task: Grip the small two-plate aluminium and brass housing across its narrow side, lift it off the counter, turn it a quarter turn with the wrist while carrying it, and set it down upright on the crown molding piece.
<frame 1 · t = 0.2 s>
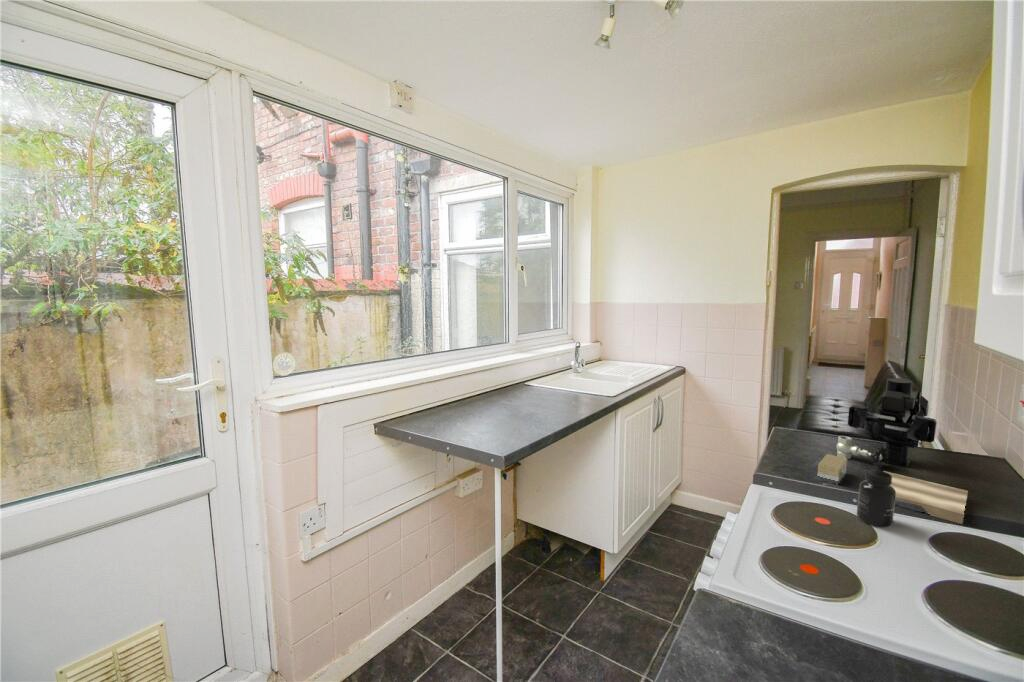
hand: (883, 431, 119), 17 cm above the counter, tool horizontal, fingers open, 9 cm apart
valve: (857, 461, 140), on the counter
supplement bottle: (874, 521, 107), on the counter
crown molding piece: (918, 499, 116), on the counter
housing: (831, 477, 130), on the counter
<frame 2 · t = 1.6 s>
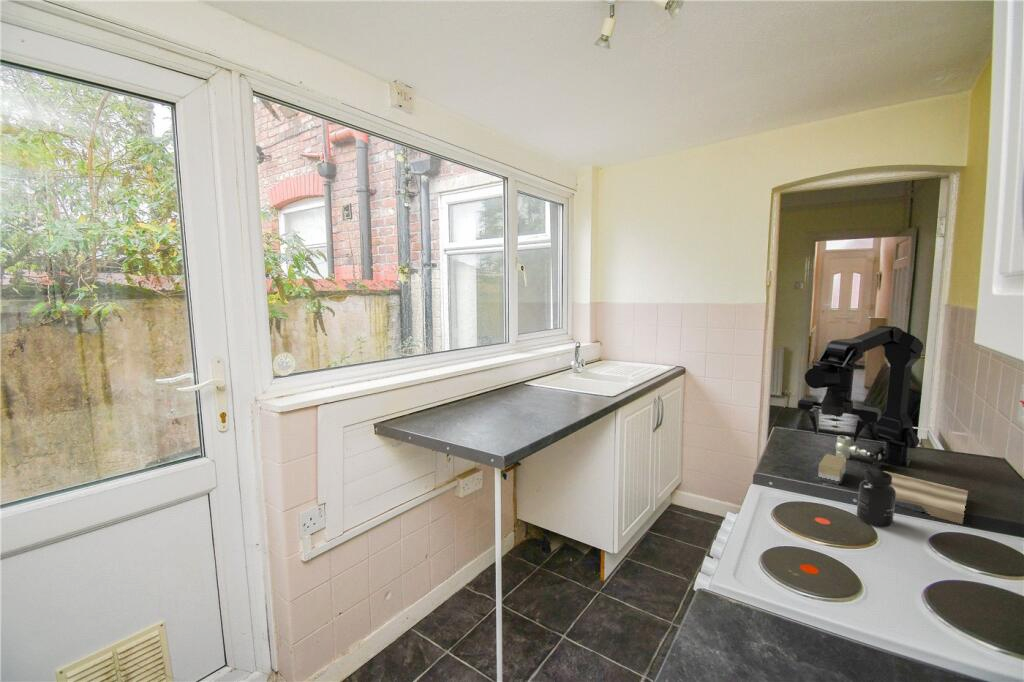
hand: (835, 437, 128), 12 cm above the counter, tool pointing down, fingers open, 9 cm apart
nothing on the counter moved.
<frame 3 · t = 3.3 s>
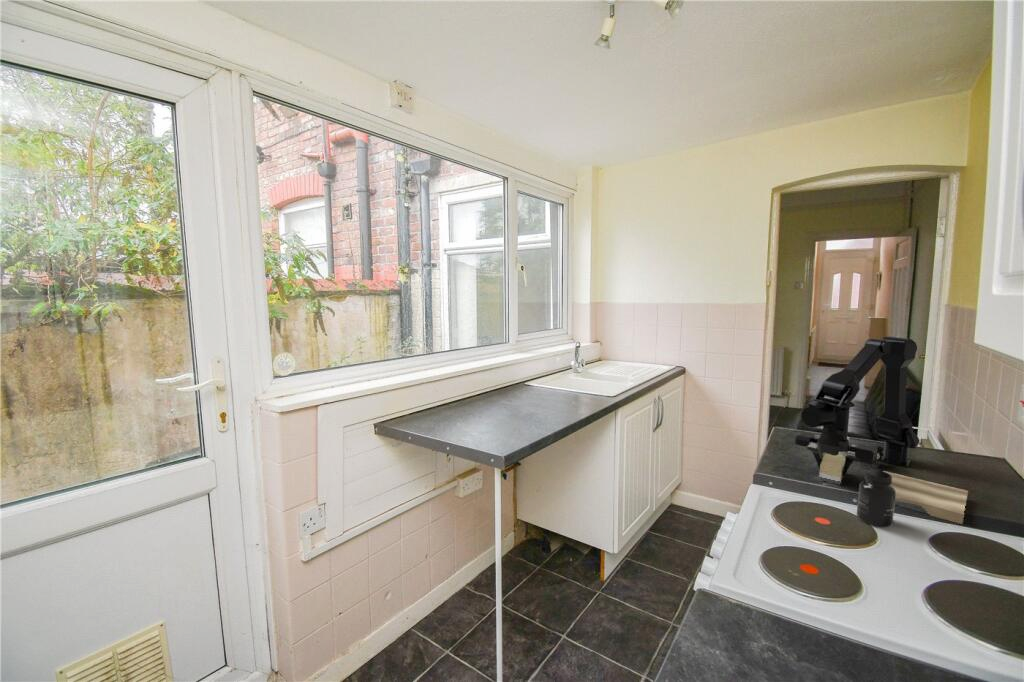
hand: (831, 473, 130), 1 cm above the counter, tool pointing down, fingers closed on housing, 5 cm apart
housing: (831, 477, 130), on the counter, touching gripper
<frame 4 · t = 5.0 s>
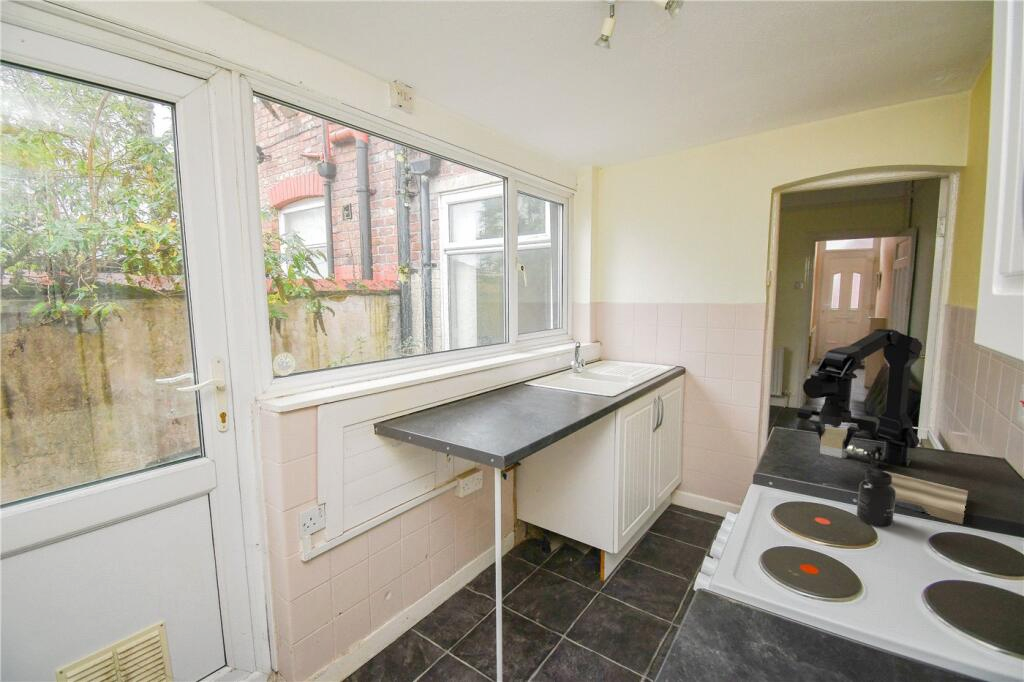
hand: (833, 446, 128), 9 cm above the counter, tool pointing down, fingers closed on housing, 5 cm apart
housing: (833, 450, 129), point 8 cm above the counter, touching gripper
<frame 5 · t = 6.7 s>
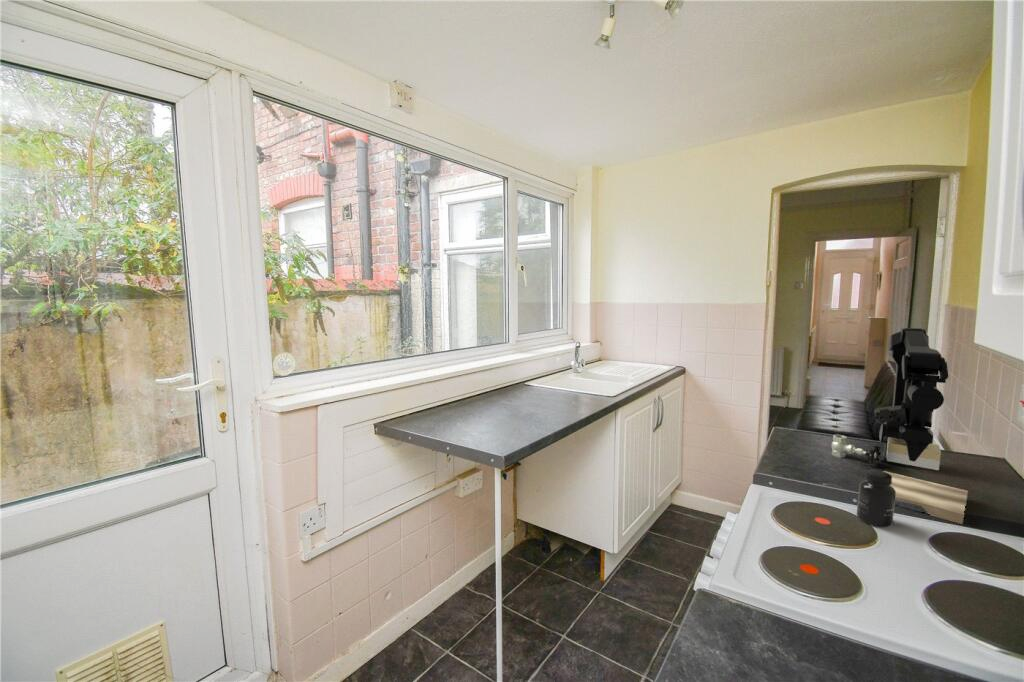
hand: (912, 457, 116), 11 cm above the counter, tool pointing down, fingers closed on housing, 5 cm apart
housing: (911, 462, 116), point 10 cm above the counter, touching gripper
when the fingers open (5 cm above the counter, at t = 9.1 s): housing drops 1 cm, resting on crown molding piece.
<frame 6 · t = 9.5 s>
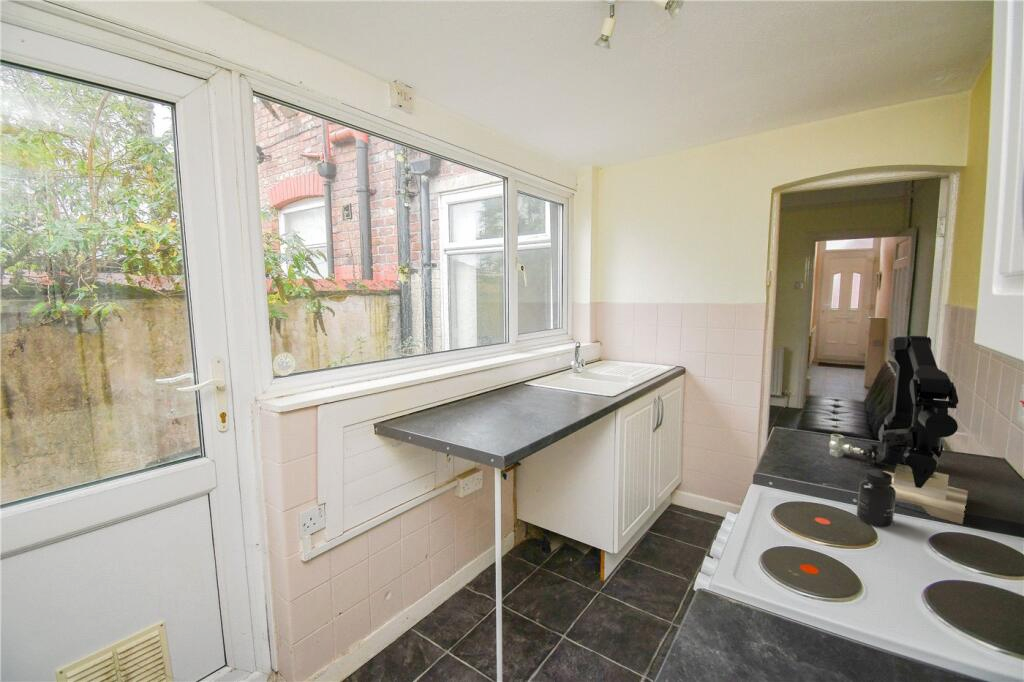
hand: (920, 481, 115), 5 cm above the counter, tool pointing down, fingers open, 9 cm apart
housing: (919, 490, 116), point 2 cm above the counter, touching crown molding piece
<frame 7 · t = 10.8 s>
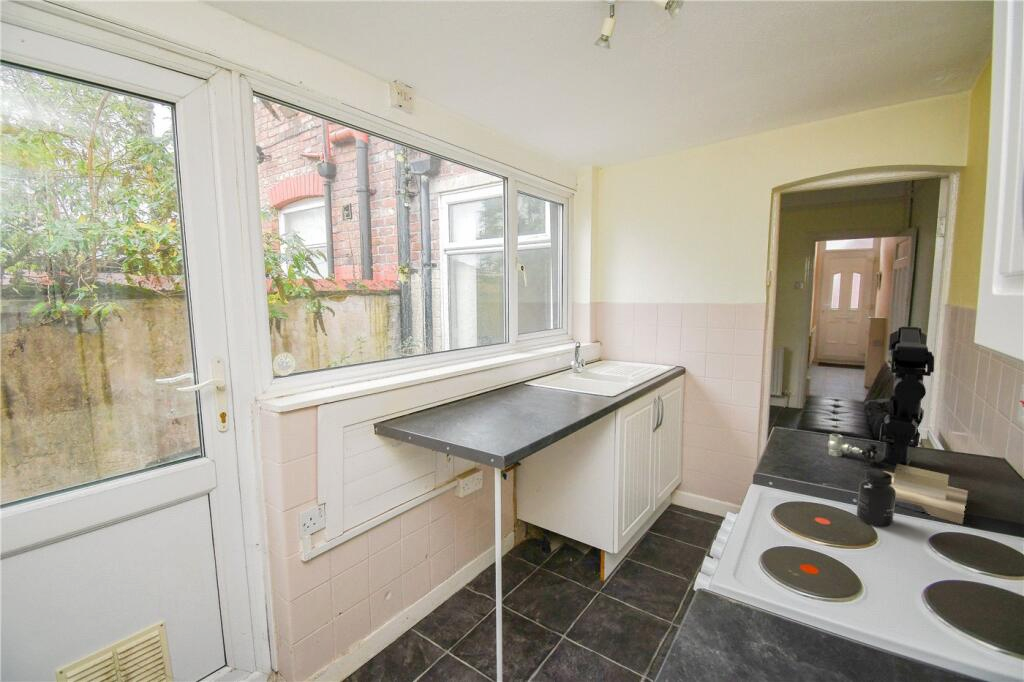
hand: (901, 448, 120), 12 cm above the counter, tool pointing down, fingers open, 9 cm apart
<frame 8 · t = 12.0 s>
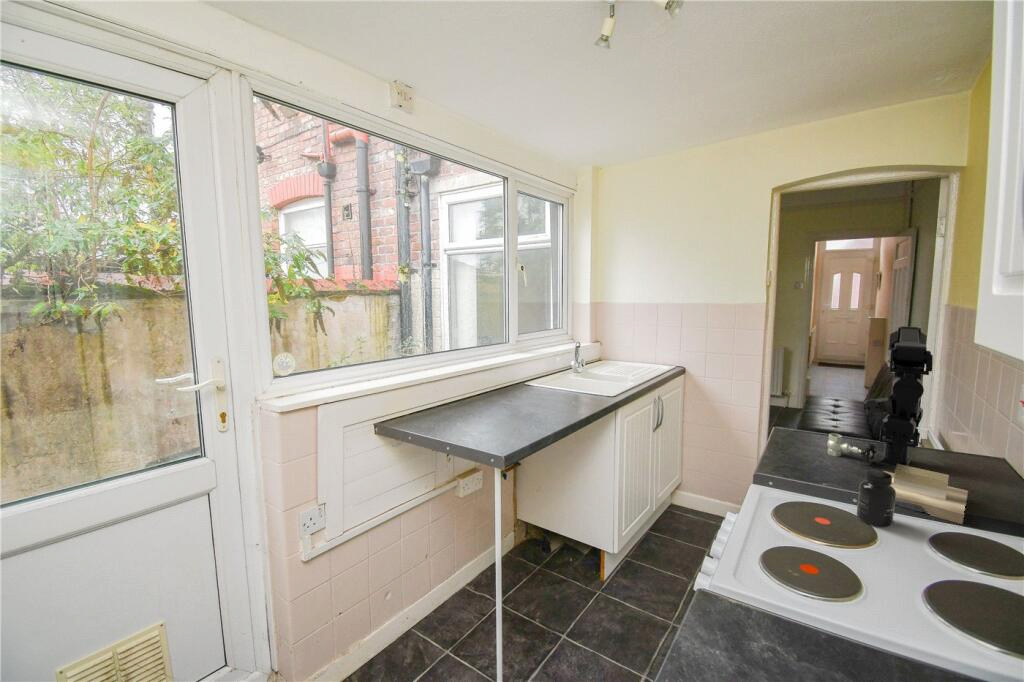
hand: (900, 447, 120), 12 cm above the counter, tool pointing down, fingers open, 9 cm apart
at the end: housing inside the target area on the crown molding piece (0.1 cm from its centre), point 2.5 cm above the crown molding piece's base; housing tilted 0°; the gripper is holding nothing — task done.
